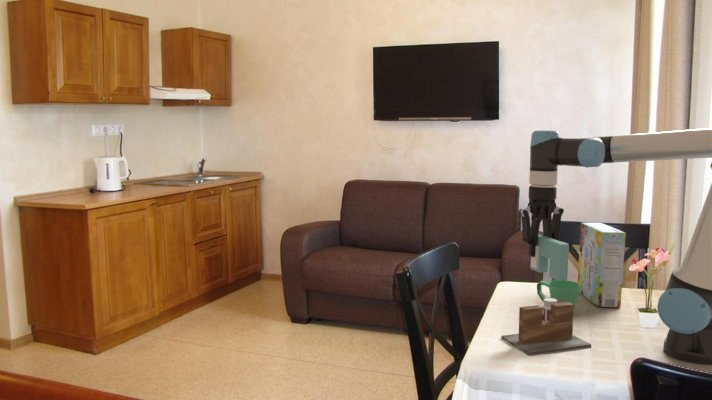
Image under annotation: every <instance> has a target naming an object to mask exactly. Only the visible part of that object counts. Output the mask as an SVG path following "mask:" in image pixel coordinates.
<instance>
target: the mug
mask: <svg viewBox="0 0 712 400" xmlns="http://www.w3.org/2000/svg"><path fill="white" fill-rule="evenodd" d="M542 286H545V287H547V288H548V290H549V295H550V298H554V299H557V303H562V302H570V303H572V304H574V309H573V311H574V310H575V308H576V305H577V302H578V298H579V295H580V293H579V292H580V288H581V285H580V284H579V286H578V282H577V281H572V280H565V281H558V280H556V279H554V280H551V281H546V280H540V281H539V282H537V284H536V291H537V292H536V293H537V296H538V297H539V298H540V299H541V301H542V302H543V301H544V299H545V298H547V297H546V296H545V294H544V292H543V290H542Z"/></svg>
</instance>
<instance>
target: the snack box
mask: <svg viewBox="0 0 712 400" xmlns="http://www.w3.org/2000/svg"><path fill="white" fill-rule="evenodd" d="M626 236H627V233H626V232H624V231H622V230H620V229H617V228H614V227H613V226H610V225H607V224H606V223H602V222H580V237H579V251H578V253H579V255H578V270H577V271H578V273H577V284H578V286H579V284H580V285H581V288H580V292H579V294H580V295H582V296H583V297H584V298H586V299H587V300H589V301H590V302H591V303H593V304H594V305H595V306H596V307H598V308H621V306H622V291H623V287H622V286H623V278H624V277H623V276H624V264H625V263H624V262H625V249H626V238H627V237H626Z"/></svg>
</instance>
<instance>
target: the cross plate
mask: <svg viewBox="0 0 712 400" xmlns="http://www.w3.org/2000/svg"><path fill="white" fill-rule="evenodd" d="M537 246H539V261H538V269H535V268H533V267H531V266H530V270H532V271H535V272H537V273H540V274H541V273H548V277H549V278H551V279H554V280H558V281H568V271H569V270H568V269H569V254H570V253H569V250H570V244H569V243H567V242H565V241H560V240H559V239H558V240H555V239H552V238H549V237H546V236H543V234H539V233H538V239H537ZM548 268H549V269H548ZM548 271H549V272H548Z"/></svg>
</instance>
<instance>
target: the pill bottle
mask: <svg viewBox="0 0 712 400" xmlns="http://www.w3.org/2000/svg"><path fill="white" fill-rule="evenodd" d="M542 302H543V304H542V305H541V307H542V322H544V321H550V317H551V304H553V303H557V299H554V298H551V297H546V298H545V299H544V301H542Z"/></svg>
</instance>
